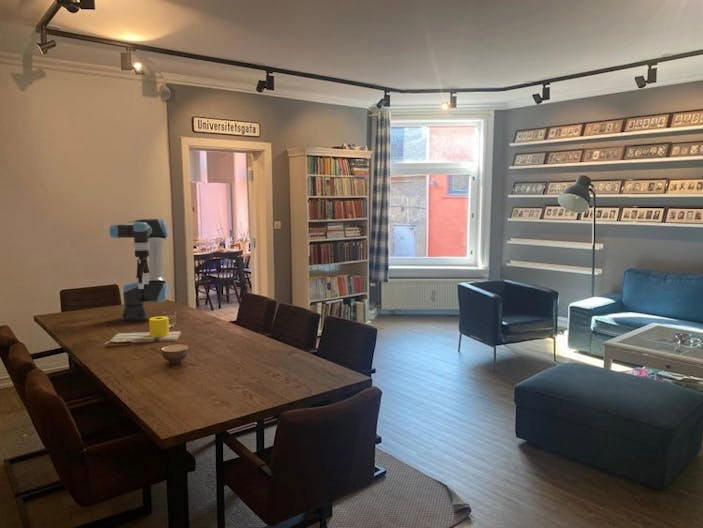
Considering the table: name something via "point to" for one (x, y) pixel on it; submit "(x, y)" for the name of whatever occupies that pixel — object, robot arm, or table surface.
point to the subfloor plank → (145, 337)
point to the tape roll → (159, 326)
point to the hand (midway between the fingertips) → (143, 286)
